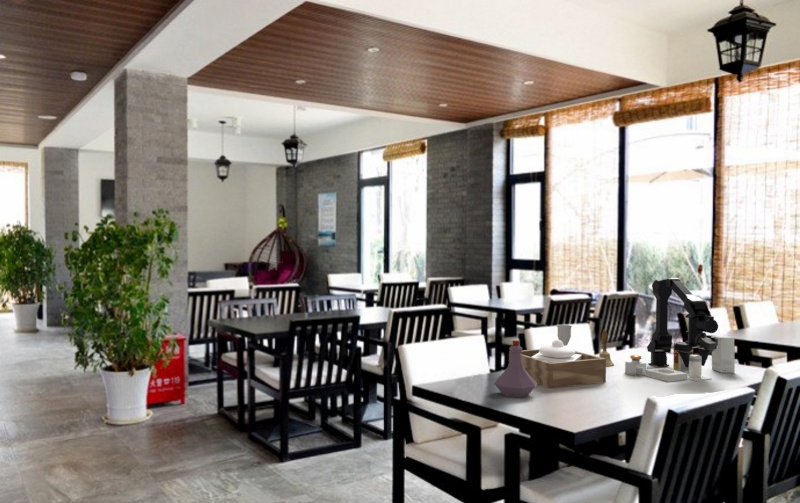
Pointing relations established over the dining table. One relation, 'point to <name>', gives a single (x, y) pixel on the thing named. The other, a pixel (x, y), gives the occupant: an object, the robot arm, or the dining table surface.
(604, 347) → the hand bell
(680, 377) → the white flat block
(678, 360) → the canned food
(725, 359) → the skincare box
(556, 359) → the butter dish
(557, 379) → the wooden tray box
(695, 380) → the mat
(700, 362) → the white cylinder
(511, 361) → the flask
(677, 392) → the dining table surface
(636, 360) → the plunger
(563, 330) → the chalice
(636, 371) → the plunger block
